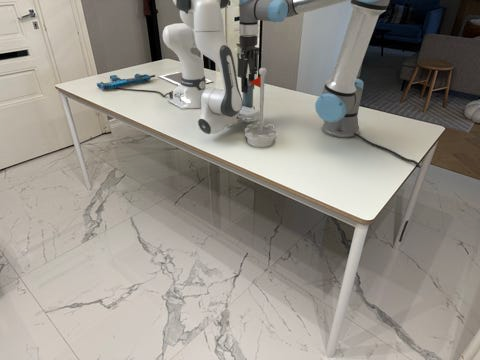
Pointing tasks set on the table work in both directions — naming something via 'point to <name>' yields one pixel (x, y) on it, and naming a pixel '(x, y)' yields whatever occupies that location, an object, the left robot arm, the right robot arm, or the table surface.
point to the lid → (249, 83)
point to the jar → (248, 98)
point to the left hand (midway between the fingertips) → (248, 106)
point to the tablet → (176, 78)
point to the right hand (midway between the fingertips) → (247, 90)
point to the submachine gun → (123, 81)
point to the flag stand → (260, 120)
